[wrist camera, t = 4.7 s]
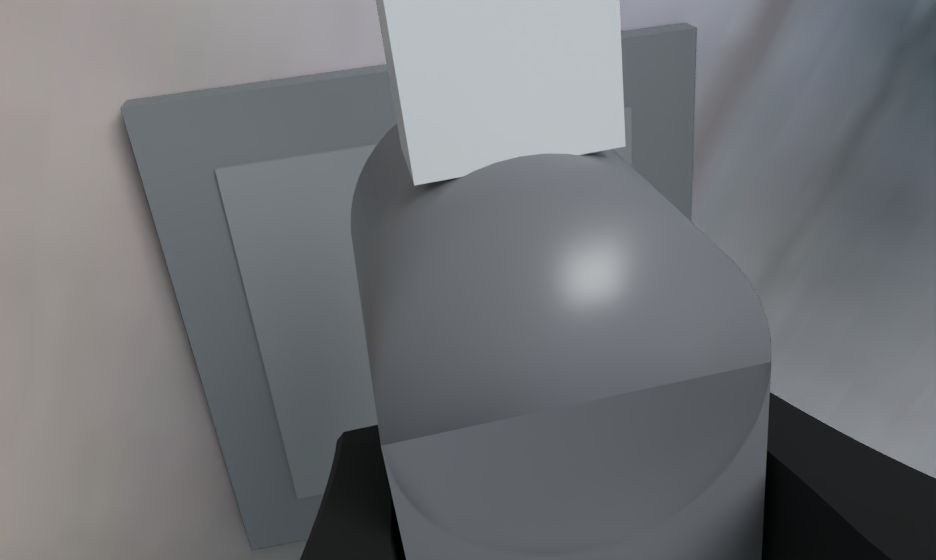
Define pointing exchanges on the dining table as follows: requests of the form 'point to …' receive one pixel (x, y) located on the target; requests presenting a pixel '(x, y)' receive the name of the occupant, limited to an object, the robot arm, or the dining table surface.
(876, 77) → the dining table surface
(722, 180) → the dining table surface
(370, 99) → the coaster
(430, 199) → the plug
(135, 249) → the dining table surface
